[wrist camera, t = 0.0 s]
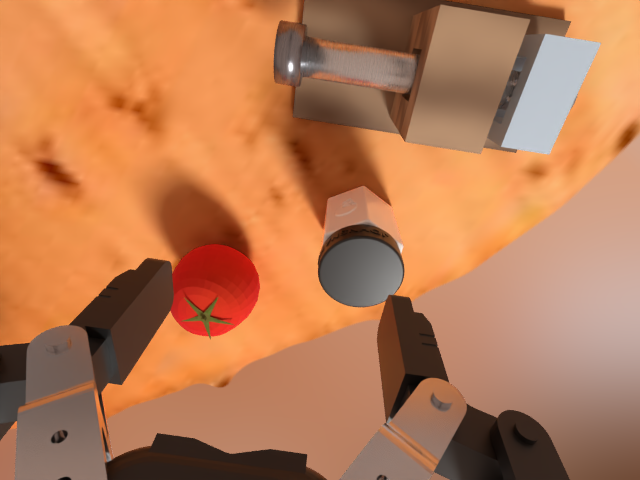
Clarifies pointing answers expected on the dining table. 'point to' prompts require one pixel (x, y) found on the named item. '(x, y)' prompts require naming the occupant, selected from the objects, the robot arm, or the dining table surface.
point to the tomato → (214, 290)
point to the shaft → (349, 63)
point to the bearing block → (422, 67)
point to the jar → (360, 249)
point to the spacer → (542, 91)
